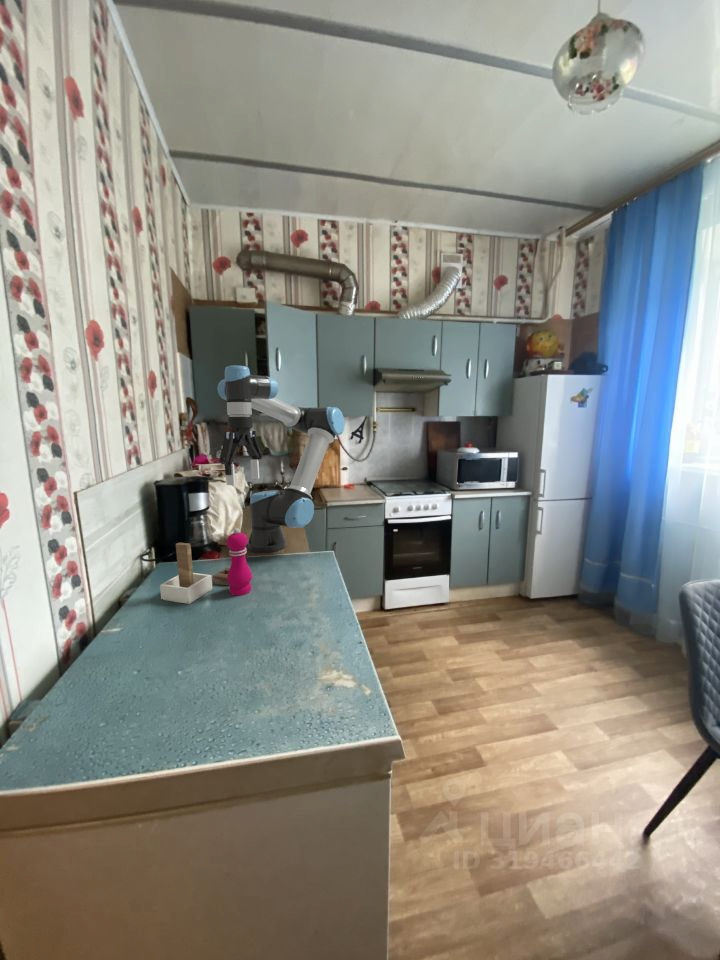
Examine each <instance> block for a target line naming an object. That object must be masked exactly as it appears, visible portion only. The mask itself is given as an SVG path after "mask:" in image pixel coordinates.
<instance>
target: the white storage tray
mask: <svg viewBox="0 0 720 960" xmlns="http://www.w3.org/2000/svg"><path fill="white" fill-rule="evenodd" d="M193 579H194V584H193V585H191V586H190V587H188V588H186V587H180V585H179V574H177V575H176V576H174V577H172V578H170V579H168V580H166V581H165V582H163V583H161V584H159V590H160V591H159V592H160V600H162V599H163V601H169V602H175V603H182V604H187V605H191V603H193V602H195V601H197V599H200V598H201V597H202V596H204V595H205V594H207V593H209V592H210V591H211V590H213V575H212V574H205V573H197V572H193Z"/></svg>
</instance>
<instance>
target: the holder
mask: <svg viewBox="0 0 720 960" xmlns="http://www.w3.org/2000/svg"><path fill="white" fill-rule="evenodd" d="M229 569H230V567H225V568H223V569H222V570H220V571H218V572H216V573H215V574H213V575H212V584H216V583H217V584H216V585H225V586H229V587H230V586H231V585H230V584H229V583H228V581H227V576H228V572H229Z"/></svg>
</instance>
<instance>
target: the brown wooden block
mask: <svg viewBox="0 0 720 960" xmlns="http://www.w3.org/2000/svg"><path fill="white" fill-rule="evenodd" d="M175 550H176V551H175V553H176V561H177V573H178V574H177V575H179V585H180V587H186V588H188V587H190V586H191V585H193V584H194V579H193V573H194V569H193V559H192V558H193V557H192V547H191V543H188V542H187V543H186V542H177V543H175Z"/></svg>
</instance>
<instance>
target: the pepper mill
mask: <svg viewBox="0 0 720 960" xmlns="http://www.w3.org/2000/svg"><path fill="white" fill-rule="evenodd" d="M248 542H249V540H248V537H247V535H246V534H245V533H243V532H241V531H240V529H239V528H238V527H235V528H234V529H233V533H232V534H230V535H229V536H228V537H227V539H226V546H227V548H229V550H228V553H229V554H228V555H229V556H230V558H231V561H230V566H229V568H230V569H229V572H228V576H227V581H228V583H229V584H230V585H231V586H230V585H229V593H230V595H232V596H235V597H236V596H243V595H247V594H249V593H250V592H251V591H252V585H251V583H250V582H252V580H253V575H252V569H250V567H249V565H248V562H247V559H246V554H247V552H248V551H247V546H248Z"/></svg>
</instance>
